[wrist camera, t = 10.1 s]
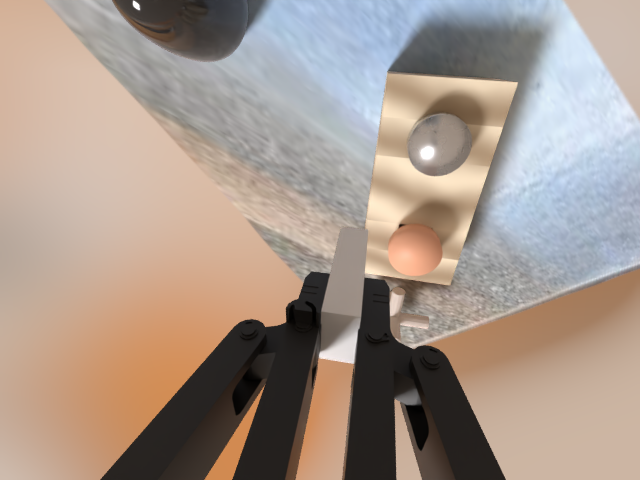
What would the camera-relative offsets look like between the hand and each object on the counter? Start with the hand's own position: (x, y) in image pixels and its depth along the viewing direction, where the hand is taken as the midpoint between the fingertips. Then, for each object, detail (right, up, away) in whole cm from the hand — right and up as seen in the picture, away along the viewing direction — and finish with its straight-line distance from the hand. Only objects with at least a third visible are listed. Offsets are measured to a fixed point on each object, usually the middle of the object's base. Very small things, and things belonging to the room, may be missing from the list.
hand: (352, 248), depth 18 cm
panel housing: (+11, +9, +23) cm, 27 cm away
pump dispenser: (-14, +27, +18) cm, 35 cm away
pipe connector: (+10, -9, +34) cm, 36 cm away
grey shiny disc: (+11, +13, +20) cm, 26 cm away
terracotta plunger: (+10, +2, +25) cm, 27 cm away
